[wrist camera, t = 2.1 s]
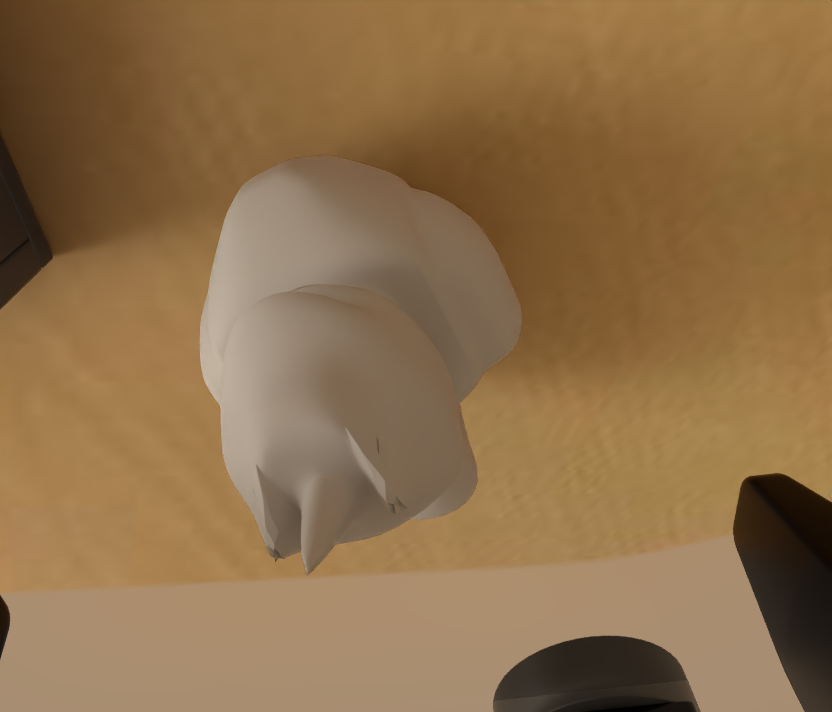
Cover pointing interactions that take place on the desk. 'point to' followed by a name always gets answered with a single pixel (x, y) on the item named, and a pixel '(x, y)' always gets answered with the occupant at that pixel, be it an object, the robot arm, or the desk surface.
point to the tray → (17, 233)
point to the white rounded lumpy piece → (349, 350)
